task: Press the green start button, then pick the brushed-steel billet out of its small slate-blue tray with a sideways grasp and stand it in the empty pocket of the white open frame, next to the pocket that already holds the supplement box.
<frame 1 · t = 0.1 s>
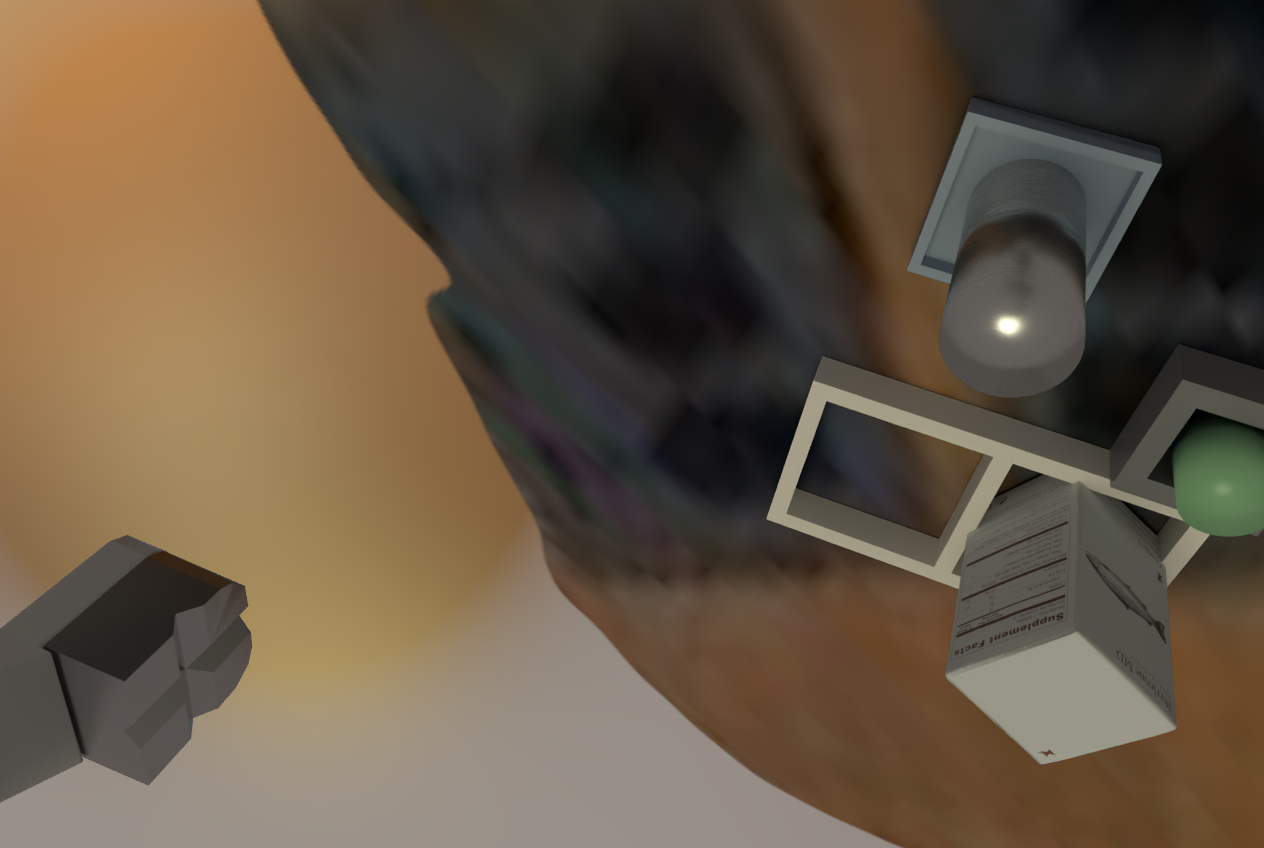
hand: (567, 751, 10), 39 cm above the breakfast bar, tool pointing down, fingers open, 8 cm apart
start button: (1223, 474, 44), point 4 cm above the breakfast bar, slide at 0.0 cm
white open frame: (975, 490, 54), on the breakfast bar
billet: (1025, 211, 43), point 1 cm above the breakfast bar, touching tray
supplement box: (1063, 520, 54), resting in white open frame
tray: (1026, 204, 44), on the breakfast bar
button housing: (1215, 422, 47), on the breakfast bar
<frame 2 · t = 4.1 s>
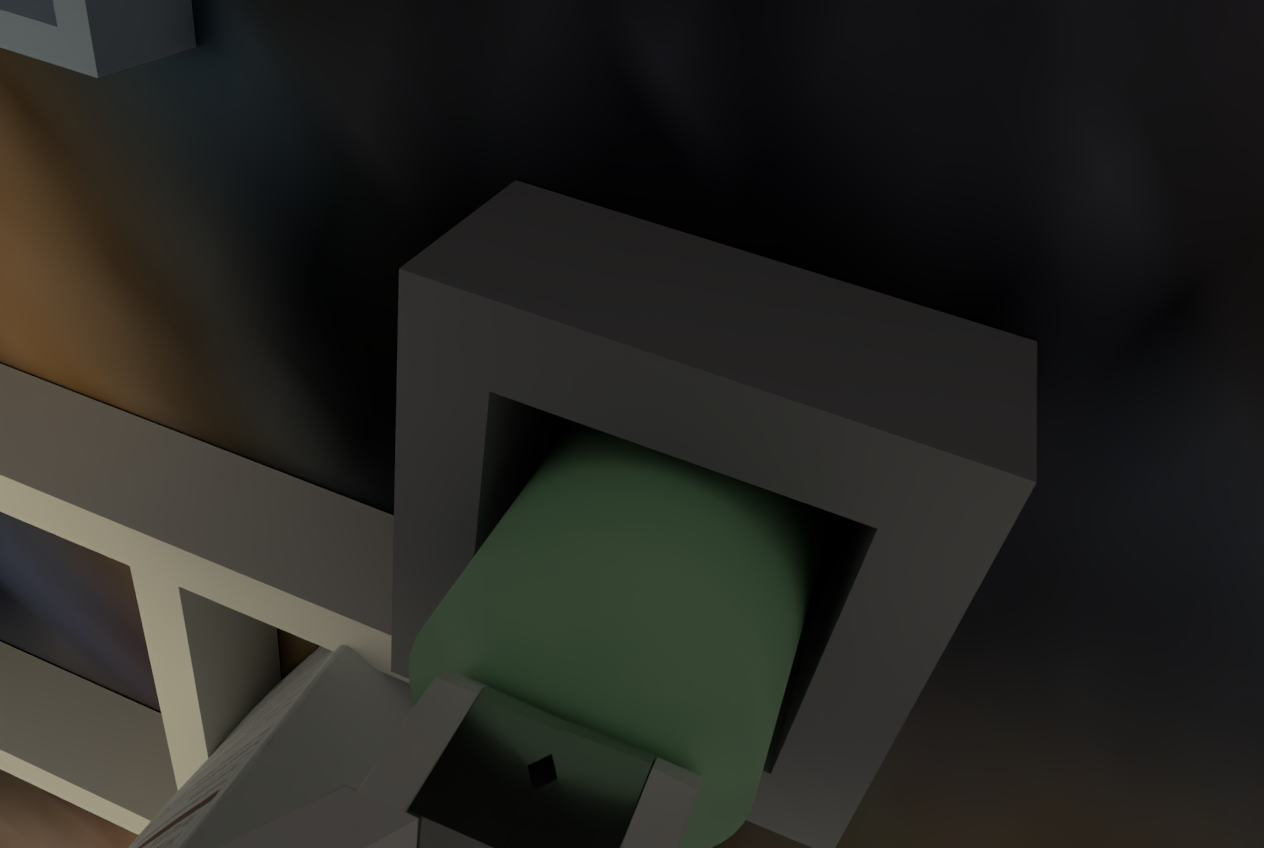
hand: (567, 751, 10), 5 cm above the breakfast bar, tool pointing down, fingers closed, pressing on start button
start button: (635, 609, 12), point 3 cm above the breakfast bar, slide at 0.8 cm, touching gripper
white open frame: (259, 646, 21), on the breakfast bar
supplement box: (462, 732, 20), resting in white open frame
button housing: (706, 464, 14), on the breakfast bar
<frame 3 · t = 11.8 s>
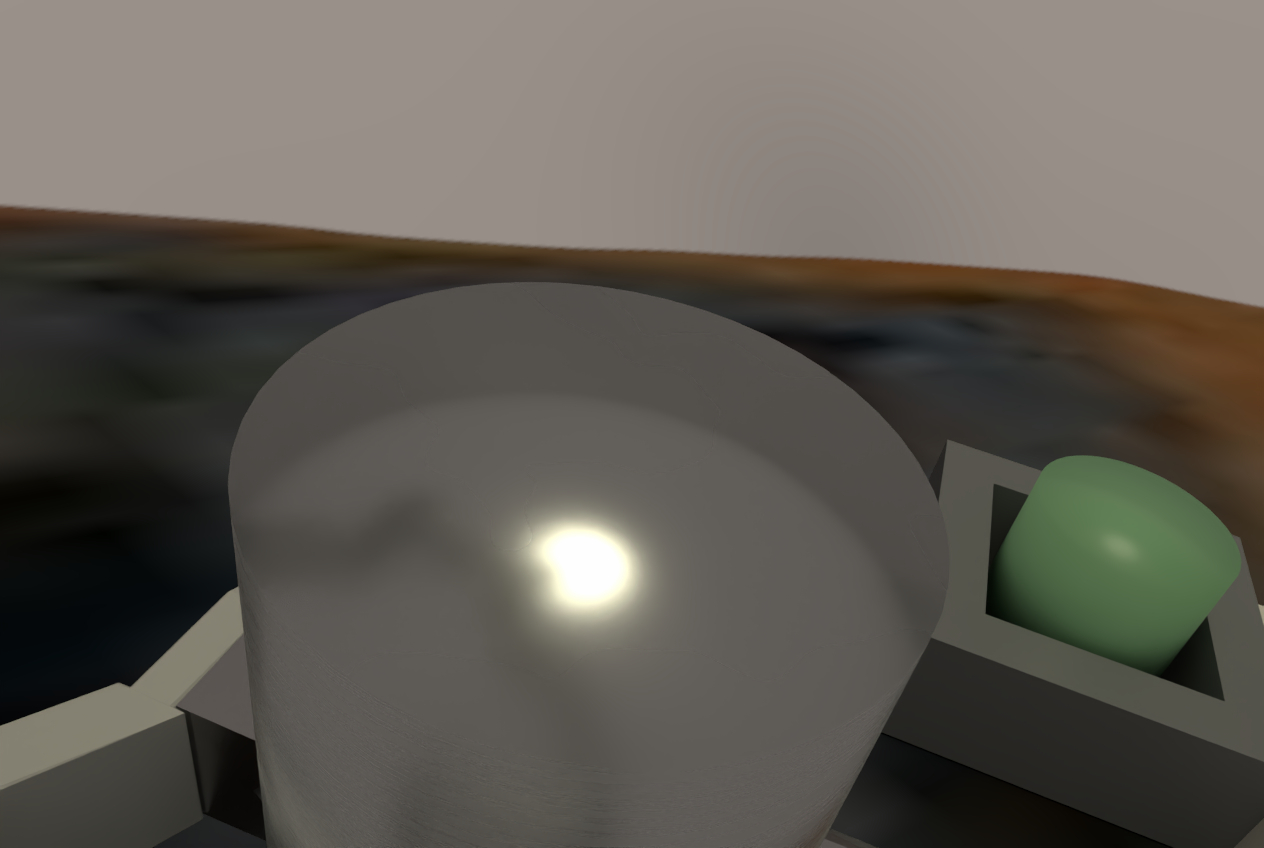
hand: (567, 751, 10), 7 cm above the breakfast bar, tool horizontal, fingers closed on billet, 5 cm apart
start button: (1092, 586, 21), point 3 cm above the breakfast bar, slide at 1.2 cm
button housing: (1038, 670, 22), on the breakfast bar
when the fingers open (8 cm above the breakfast bar, at t = 17.1 s): billet stays where it is, resting in white open frame.
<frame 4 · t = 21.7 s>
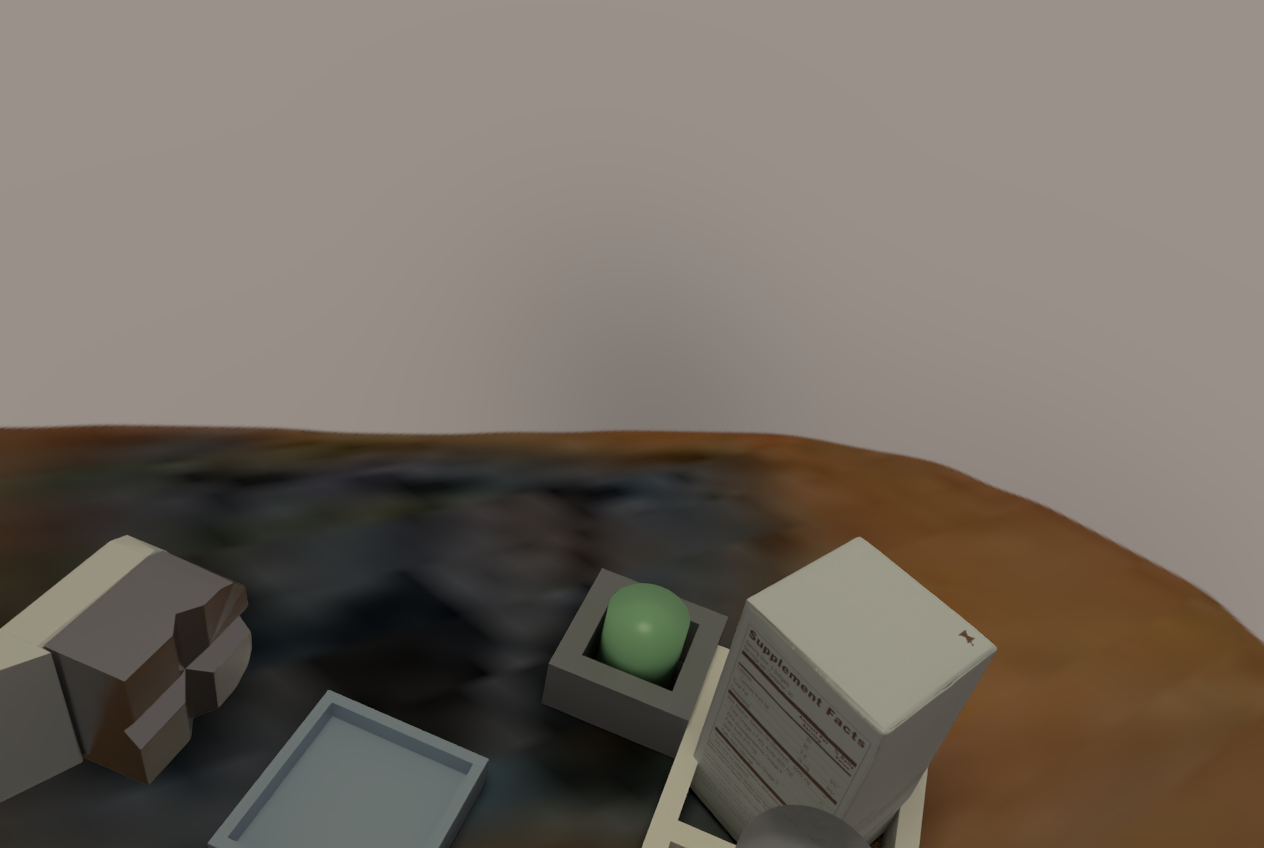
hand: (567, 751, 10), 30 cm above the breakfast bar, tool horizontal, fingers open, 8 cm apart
start button: (641, 641, 47), point 3 cm above the breakfast bar, slide at 1.2 cm
supplement box: (787, 805, 44), resting in white open frame
tray: (356, 822, 40), on the breakfast bar
button housing: (632, 677, 49), on the breakfast bar
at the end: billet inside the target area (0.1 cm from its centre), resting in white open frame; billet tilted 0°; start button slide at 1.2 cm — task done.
